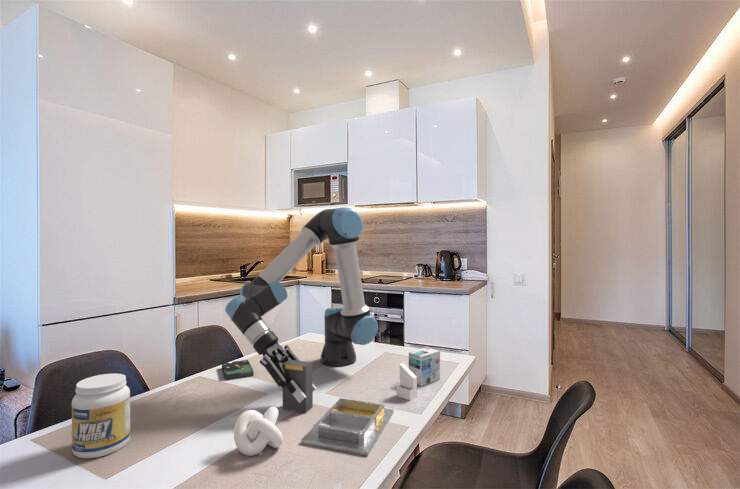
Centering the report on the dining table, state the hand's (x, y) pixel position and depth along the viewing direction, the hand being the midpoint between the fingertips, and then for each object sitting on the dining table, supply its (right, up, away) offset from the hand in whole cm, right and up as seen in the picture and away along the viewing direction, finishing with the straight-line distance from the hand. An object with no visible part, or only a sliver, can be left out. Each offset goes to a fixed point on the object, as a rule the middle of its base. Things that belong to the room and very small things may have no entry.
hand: (308, 395), depth 118 cm
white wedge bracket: (+31, -4, +10) cm, 33 cm away
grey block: (-3, -4, +1) cm, 6 cm away
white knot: (-8, -5, -20) cm, 23 cm away
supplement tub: (-49, -5, -21) cm, 53 cm away
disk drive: (-33, -5, +33) cm, 47 cm away
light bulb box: (+39, -4, +24) cm, 46 cm away
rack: (+14, -5, -11) cm, 18 cm away
